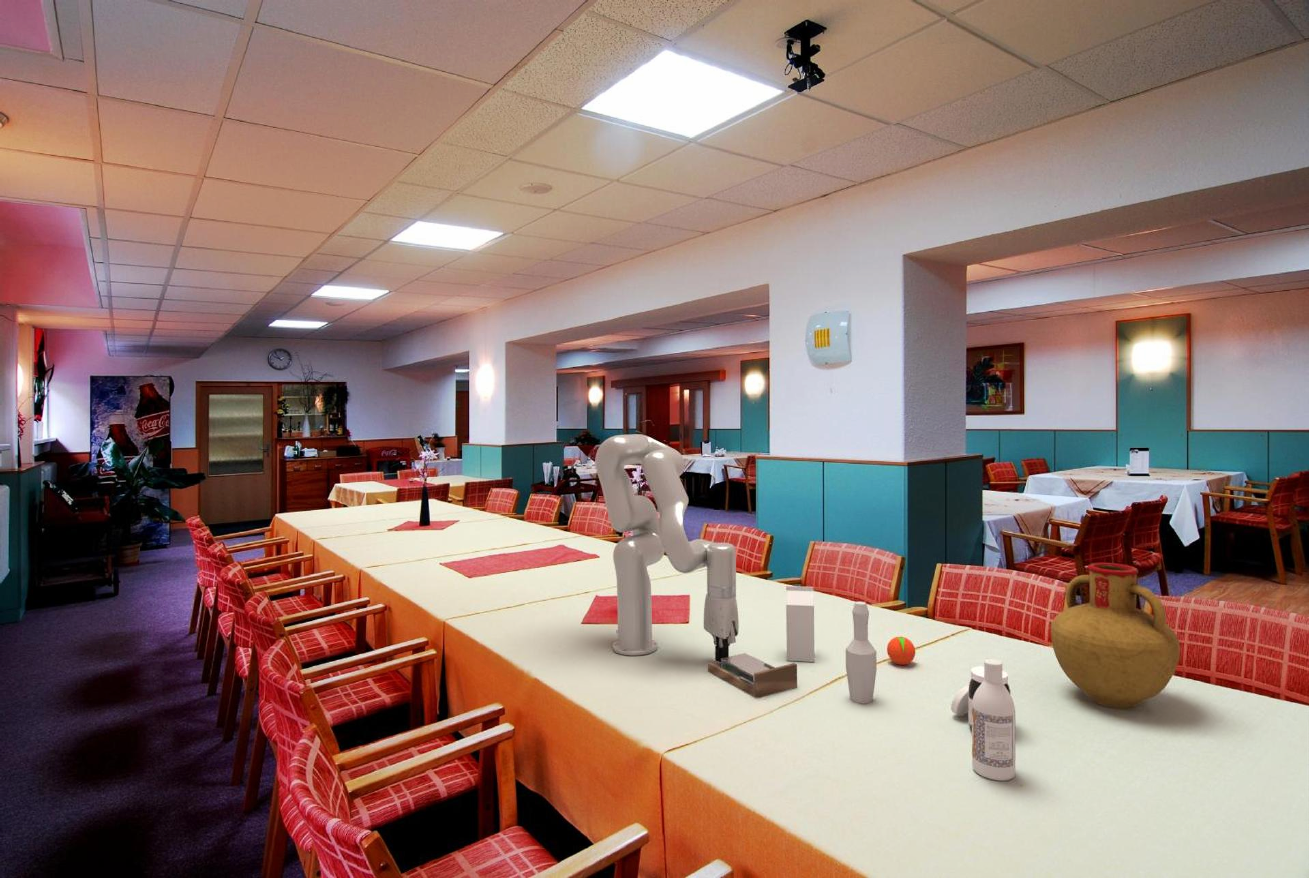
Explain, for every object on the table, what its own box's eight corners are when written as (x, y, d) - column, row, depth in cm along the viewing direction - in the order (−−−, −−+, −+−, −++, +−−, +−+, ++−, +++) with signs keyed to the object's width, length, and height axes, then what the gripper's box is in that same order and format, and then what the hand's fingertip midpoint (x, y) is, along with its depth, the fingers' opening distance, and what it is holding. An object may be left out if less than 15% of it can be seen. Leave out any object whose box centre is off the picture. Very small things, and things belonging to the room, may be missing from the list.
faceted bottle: (861, 707, 151) (860, 608, 150) (840, 697, 157) (839, 601, 156) (882, 701, 154) (881, 604, 153) (861, 691, 160) (860, 597, 159)
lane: (707, 670, 174) (707, 649, 174) (745, 661, 180) (745, 640, 180) (757, 698, 157) (756, 673, 157) (797, 687, 163) (796, 663, 163)
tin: (721, 672, 174) (721, 658, 174) (744, 666, 178) (744, 653, 178) (739, 681, 168) (739, 667, 168) (763, 675, 171) (763, 661, 171)
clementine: (918, 671, 172) (918, 643, 172) (889, 669, 173) (889, 641, 173) (912, 659, 180) (912, 632, 179) (885, 658, 181) (885, 631, 181)
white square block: (738, 682, 167) (738, 667, 167) (763, 675, 171) (763, 661, 171) (758, 692, 161) (758, 677, 161) (783, 685, 165) (783, 671, 165)
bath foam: (978, 758, 128) (977, 652, 127) (1019, 770, 123) (1019, 660, 123) (967, 773, 123) (966, 662, 122) (1009, 786, 118) (1009, 671, 118)
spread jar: (1008, 743, 134) (1008, 684, 133) (946, 730, 140) (945, 673, 139) (1013, 719, 144) (1013, 664, 143) (955, 708, 150) (955, 655, 149)
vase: (1026, 690, 158) (1026, 561, 158) (1095, 673, 168) (1095, 552, 167) (1133, 733, 137) (1134, 584, 136) (1205, 711, 146) (1206, 571, 145)
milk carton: (814, 662, 179) (813, 590, 178) (786, 661, 180) (786, 589, 180) (813, 653, 186) (813, 583, 185) (787, 651, 187) (786, 582, 187)
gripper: (693, 586, 183) (694, 654, 184) (726, 599, 170) (726, 672, 171) (717, 583, 187) (717, 649, 187) (750, 595, 174) (751, 667, 174)
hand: (722, 660), depth 179 cm, fingers closed
